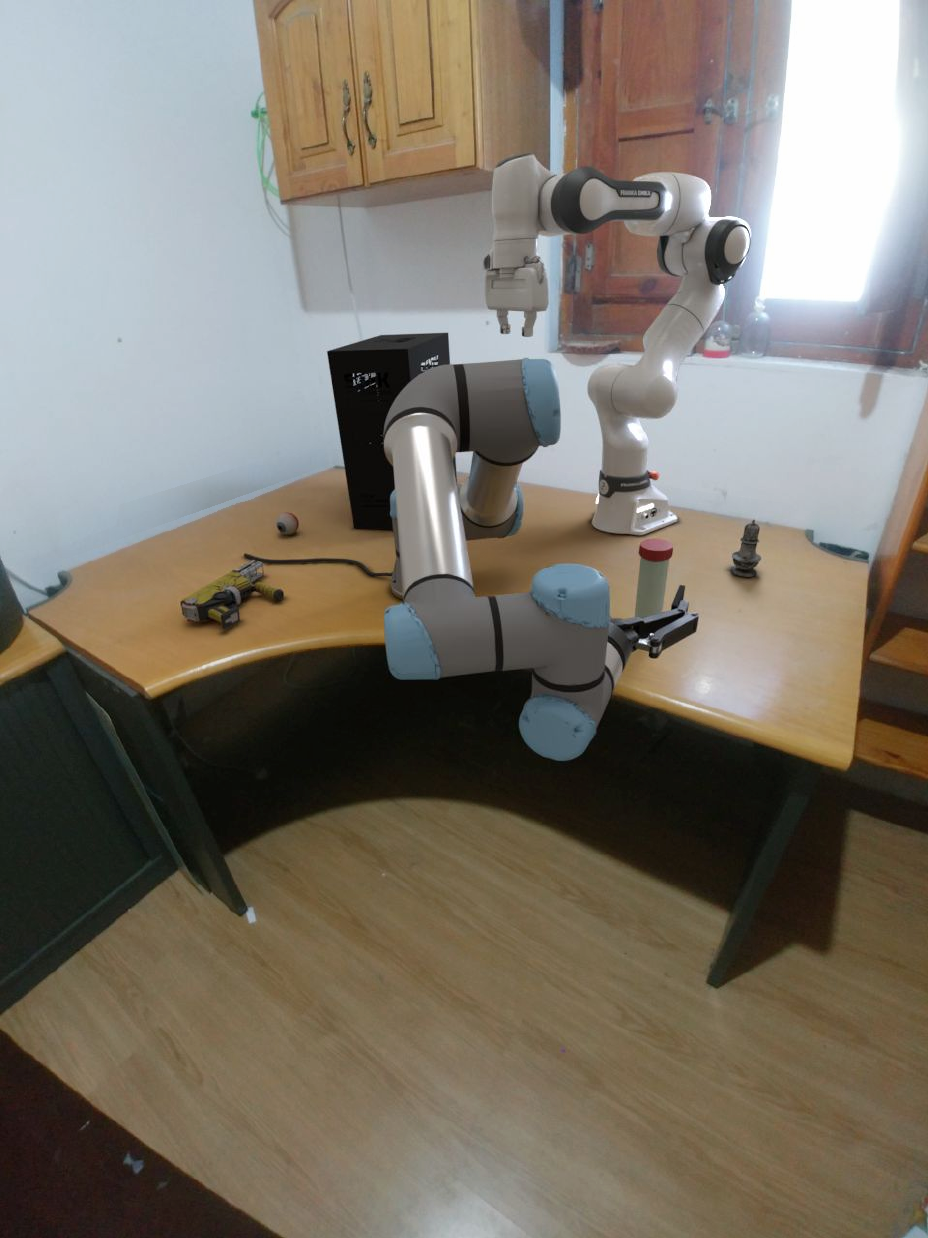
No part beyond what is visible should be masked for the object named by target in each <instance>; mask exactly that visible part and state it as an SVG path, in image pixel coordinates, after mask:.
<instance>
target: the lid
mask: <svg viewBox="0 0 928 1238" xmlns="http://www.w3.org/2000/svg"><path fill="white" fill-rule="evenodd" d="M673 547H674V544H673V543H672V542H671V541H670V540H666V539H663V538H646V539H643V540H641V541H640V543H639V547H638V555H639V557H640V558H641V557H642V558H643V559H646V560H650V561H665V560H668V559H669V560H671V558H672V556H673V551H674V548H673Z"/></svg>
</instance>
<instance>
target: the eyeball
mask: <svg viewBox="0 0 928 1238" xmlns="http://www.w3.org/2000/svg"><path fill="white" fill-rule="evenodd" d="M299 525H300V522H299V519H298V517H297V516H296V515H295V514H294V513H292V512H287V511H286V512H282V513H280V514H279V515H278V516H277V517H276V520H275V527H276V529H277V530H278V531H279V532H280V533H281V534H282V535H285V536H286V535H287V536H289V535H293V534H295V533H296V532H297V531H298V529H299Z"/></svg>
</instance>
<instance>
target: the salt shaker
mask: <svg viewBox="0 0 928 1238" xmlns="http://www.w3.org/2000/svg"><path fill="white" fill-rule="evenodd" d="M760 530H761V527H760V525H759V524H757V523H756V519H752V520H751V522H749V523H746V525H744V529H743V534H742V537H741V538H740V541H741V543H740V548H739V550H737V551H734V552H732V553H731V557H732V563H733V565H734V566H732V567H731V568H730V572H731V573H732V574H734V575H735V576H738V577H743V578H750V577H754V576H756V575H757V574H758V571H757V569H755V568H756V567H758V565H759V563H760V561H761V560H762V555H760V554H758V553H757V547H758V543H760V540H759V535H760Z"/></svg>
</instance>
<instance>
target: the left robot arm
mask: <svg viewBox="0 0 928 1238" xmlns="http://www.w3.org/2000/svg"><path fill="white" fill-rule="evenodd" d="M561 411H562V410H561V399H560V390H559V382H558V377H557V372H556V369H555V367H554V365H553V363H552V362H551V361H549V360H548V359H545V358H529V357H523V358H520V359H509V360H507V359H506V360H495V361H484V362H469V363H455V364H453V363H450V364H449V365H441V366H437V367H434V368H433V367H432V368H431V369H429V370H427V371H426V370H425V372H423V373H421V374H420V375H418V376H417V377H416V378H414V379H413V380H412V381H411V382H409V383H408V384H407V386H406V387H405V388H404V389H403V390H402V391H401V392H400V394H399V395H398V396H397V398H396V399H395V401H394V403H393V404H392V406H391V408H390V410H389V412H388V415H387V418H386V421H385V426H384V433H383V436H384V450H385V454H386V457H387V459H388V461H389V462H390V464H391V465H392V466H393V468H394V481H395V490H394V491H393V492H392V494H391V496H390V506H391V511H390V516H391V517H392V523H393V530H392V531H393V533H392V534H393V543H394V551H395V560H394V561H395V562H394V565H393V570H392V572H375V571H370V569H369V568H367V566H366V564H364V563H362V562H360V561H358V560H354V559H350V558H334V557H333V558H332V557H331V558H329V557H325V558H324V557H319V558H299V559H297V558H296V559H294V558H293V559H291V558H290V559H268V558H262V557H259V556H258V557H257V556H256V555H255V556H254V555H252V554H249V553H246V552H245V553H244V554H243V556H244V557H246V558H247V559H251V560H255V561H256V562H257V561H260V562H262V563H270V564H293V563H294V564H296V563H297V564H298V563H300V564H301V563H321V562H325V563H329V562H330V563H349V564H353V565H356V566H359V567H361V568H362V570H363V571H364V573H367V575H370V576H372V577H391V578H390V586H391V593H392V594H393V595H394V596H395V597H396V598H398V599H399V600H402V601H403V602H400V603H399V604H394V605H390V606H387V608H386V609H385V610H384V613H383V632H384V643H385V653H386V660H387V665H388V670H389V672H390V673H391V675H392V676H393V677H394V678H395V679H397V680H401V681H402V680H404V681H405V680H406V681H407V680H435V681H436V680H437V681H438V680H439V679H441V678H447V677H449V678H450V677H457V676H464V675H474V674H483V673H489V672H490V673H491V672H505V671H506V672H507V671H515V670H525V669H531V693H530V697H529V699H527V700H526V701H525V703H524V705H523V709H522V711H521V713H520V716H519V719H518V728H519V733H520V735H521V738H522V739H523V741H524V743H525V744H526V745H527V747H529V748H530V749H531V750H532V751H533V752H535V753H536V754H537V755H539V756H541V757H543V758H547V759H549V760H554V761H557V762H567V761H572V760H575V759H576V758H578V757H580V756H581V755H582V754H583V753H584V752H585V751H586V749H587V747H588V746H589V744H590V743H591V741H592V740H593V739H594V737H595V736H596V735H597V729H598V726H599V724H600V721H601V719H602V717H603V715H604V713H605V710H606V708H607V706H608V704H609V702H610V699H611V697H612V695H613V693H614V691H615V689H616V687H617V684H618V683H619V681H620V678H621V676H622V673H623V672H624V671H625V667H626V666H627V663H628V662H629V659H630V657H631V655H632V654H633V652H636V651H637V650H641V651H645V652H648V657H649V658H650V659H653V660H656V659H658V658H659V657H660V656H661V654H662V652H663V651H665V650H666V649H669V648H671V647H672V646H674V645H677V643H679V642H681V641H682V640H685V639H687V638H688V637H690V636H691V635H693V634H695V633H697V630H698V624H699V618H700V613H698V612H694V611H693V612H689V606H690V602H689V601H688V600H685V599H684V597H685V590H686V585H683V584H679V586H678V587H677V591H676V593H675V596H674V598H673V600H672V603H671V604H670V609H669V610H666V611H662V613H659V614H655V615H652V616H648V617H645V618H641V619H640V618H639V617H634V616H633V617H630V618H625V619H623V618H617V617H616V618H615V617H611V595H610V594H611V593H610V592H611V591H610V584H609V582H608V579H607V578H606V577H605V576H604V575H603V574H602V572H600V571H599V570H597V569H595V568H593V567H590V566H589V565H588V566H587V565H584V564H580V563H557V564H553V565H551V566H550V567H544V568H542V569H540V570H538V571H537V572H536V573H535V574H534V576H533V578H532V580H531V581H532V582H531V587H530V588H529V590H530V591H529V592H519V593H518V592H517V593H507V594H499V595H497V594H496V595H488V596H476V594H475V587H474V581H473V575H472V569H471V564H470V558H469V557H470V556H469V552H468V545H467V541H477V540H490V539H505V538H509V537H513V536H515V535H517V534H518V532H520V530H521V527H522V525H523V517H524V497H523V492H522V488H521V486H520V485H519V484H518V479H519V477H520V473H521V470H522V467H523V464H524V463H526V462H528V460H530V459H531V458H532V457H533V456H534V455H535V454H536V452H537V451H538V449H539V447H542V448H548V447H549V446H554V445H556V444H558V442H559V441H560V438H561V433H562V432H561V431H562V428H561V427H562V413H561ZM471 452H472V456H471V463H470V465H471V466H470V470H469V475H468V477H467V478H465V479H464V481H463V483H462V484H461V483H460V484H458V483H457V484H456V478H455V472H454V466H453V458H454V457H456V455H457V453H471ZM688 612H689V613H688Z"/></svg>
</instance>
